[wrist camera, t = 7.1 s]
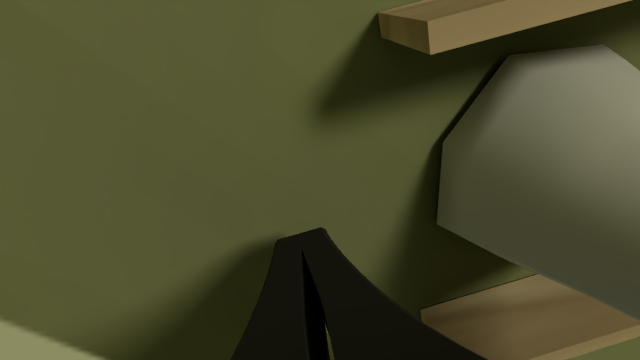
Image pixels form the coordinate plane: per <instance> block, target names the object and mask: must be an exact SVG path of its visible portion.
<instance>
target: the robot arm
mask: <svg viewBox="0 0 640 360" xmlns="http://www.w3.org/2000/svg"><path fill="white" fill-rule="evenodd" d="M325 324H326V327H327V330H328V333H329V336H330V339H331V344H332V349H333V354H334V358H335V360H488V359H486V358H484V357H482V356H480V355H478V354H476V353H475V352H473V351H471V350H469V349H467V348H465V347H463V346H461V345H460V344H458V343H456V342H455V341H453V340H451V339H450V338H448V337H446V336H445V335H443V334H441V333H440V332H438V331H436V330H435V329H433V328H431V327H430V326H428V325H426V324H425V323H423V322H422V321H420V320H419V319H417V318H416V317H415V316H413V315H412V314H410V313H409V312H407V311H406V310H405V309H403V308H402V307H401V306H399V305H398V304H397V303H395V302H394V301H393V300H391V299H390V298H389V297H388V296H386V295H385V294H384V293H383V292H382V291H380V290H379V289H378V288H377V287H376V286H375V285H373V284H372V283H371V282H370V281H369V280H368V279H367V278H366V277H365V276H364V275H363V274H362V273H360V272H359V270H358V269H357V268H356V267H355V266H354V265H353V264H352V263H351V262H350V261H349V260H348V259H347V258H346V257H345V256H344V255H343V254H342V252H341V251H340V250H339V249H338V247H337V246H336V245H335V244H334V242H333V241H332V240H331V238H330V237H329V235H328V233H327V231H326V230H325V229H323V228H321V227H320V228H317V229H313V230H310V231H306V232H303V233H299V234H296V235H293V236H289V237H286V238H282V239H279V240H277V242H276V244H275V248H274V252H273V257H272V260H271V264H270V267H269V271H268V274H267V277H266V280H265V283H264V286H263V289H262V291H261V294H260V297H259V300H258V302H257V304H256V307H255V309H254V312H253V314H252V316H251V319H250V321H249V323H248V326H247V328H246V330H245V332H244V334H243V336H242V338H241V340H240V342H239V344H238V346H237V348H236V350H235V352H234V354H233V356H232V358H231V359H230V360H330V357H329V350H328V343H327V335H326V328H325Z"/></svg>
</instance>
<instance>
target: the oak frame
mask: <svg viewBox="0 0 640 360" xmlns="http://www.w3.org/2000/svg"><path fill="white" fill-rule="evenodd" d="M627 1H631V0H423V1H419V2H416V3H412V4H408V5H404V6H400V7H397V8H393V9H389V10H385V11H382V12H378V17H379V24H380V31H381V37H382V38H385V39H387V40H390V41H393V42H396V43H399V44H401V45H404V46H407V47H410V48H412V49H415V50H418V51H421V52H423V53H426V54H429V55H432V54H436V53H440V52H443V51H447V50H451V49H454V48H458V47H462V46H465V45H469V44H473V43H476V42H480V41H484V40H487V39H491V38H495V37H498V36H502V35H506V34H510V33H513V32H517V31H521V30H524V29H528V28H532V27H535V26H539V25H543V24H546V23H550V22H554V21H557V20H561V19H565V18H568V17H572V16H576V15H579V14H583V13H587V12H591V11H594V10H598V9H602V8H605V7H609V6H613V5H616V4H620V3H624V2H627ZM420 313H421V320H422V322H423V323H425V324H426V325H428V326H430V327H431V328H433V329H435V330H436V331H438V332H440V333H441V334H443V335H445V336H446V337H448V338H450V339H451V340H453V341H455V342H456V343H458V344H460V345H461V346H463V347H465V348H467V349H469V350H471V351H473V352H475V353H476V354H478V355H480V356H482V357H484V358H486V359H488V360H566V359H569V358H572V357H576V356H579V355H582V354H585V353H588V352H591V351H595V350H598V349H601V348H604V347H607V346H611V345H614V344H617V343H620V342H623V341H626V340H630V339H633V338H636V337H639V336H640V321H638V320H636V319H634V318H632V317H630V316H628V315H626V314H624V313H622V312H620V311H618V310H616V309H613V308H611V307H609V306H607V305H605V304H603V303H601V302H599V301H597V300H595V299H593V298H590V297H588V296H586V295H584V294H582V293H580V292H577V291H575V290H573V289H571V288H568V287H566V286H564V285H562V284H559V283H557V282H555V281H552V280H550V279H548V278H546V277H543V276H541V275H539V274H537V275H533V276H530V277H527V278H524V279H520V280H517V281H514V282H510V283H507V284H504V285H500V286H497V287H494V288H490V289H487V290H484V291H481V292H477V293H474V294H471V295H467V296H464V297H461V298H457V299H454V300H451V301H447V302H444V303H441V304H438V305H434V306H431V307H428V308H424V309H421V310H420Z"/></svg>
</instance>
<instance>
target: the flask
mask: <svg viewBox="0 0 640 360" xmlns="http://www.w3.org/2000/svg"><path fill="white" fill-rule="evenodd" d="M437 225H439V226H441V227H443V228H445V229H447V230H449V231H451V232H453V233H455V234H457V235H459V236H460V237H462V238H464V239H466V240H468V241H470V242H472V243H474V244H476V245H478V246H480V247H482V248H483V249H485V250H487V251H489V252H491V253H493V254H495V255H497V256H499V257H501V258H503V259H505V260H507V261H510V262H512V263H514V264H516V265H518V266H520V267H523V268H525V269H527V270H530V271H532V272H534V273H536V274H539V275H541V276H543V277H546V278H548V279H550V280H552V281H555V282H557V283H559V284H562V285H564V286H566V287H568V288H571V289H573V290H575V291H577V292H580V293H582V294H584V295H586V296H588V297H590V298H593V299H595V300H597V301H599V302H601V303H603V304H605V305H607V306H609V307H611V308H613V309H616V310H618V311H620V312H622V313H624V314H626V315H628V316H630V317H632V318H634V319H636V320H638V321H640V71H639V70H638V69H637V68H635V67H634V66H633V65H631V64H630V63H629V62H628V61H626V60H625V59H623V58H622V57H621V56H619V55H618V54H616V53H615V52H614V51H612V50H611V49H609V48H608V47H607V46H605V45H604V44H601V45H592V46H583V47H575V48H566V49H557V50H548V51H539V52H531V53H522V54H513V55H509V56H508V57H507V58H506V60H505V61H504V62H503V64H502V65H501V66H500V68H499V69H498V70H497V71H496V73H495V74H494V75H493V77H492V78H491V79H490V81H489V82H488V83H487V85H486V86H485V87H484V89H483V90H482V91H481V93H480V94H479V95H478V97H477V98H476V99H475V101H474V102H473V103H472V105H471V106H470V107H469V109H468V110H467V111H466V112H465V114H464V115H463V116H462V118H461V119H460V120H459V122H458V123H457V124H456V126H455V127H454V128H453V130H452V131H451V132H450V134H449V135H448V136H447V138H446V139H445V140H444V142H443V149H442V162H441V175H440V188H439V201H438V213H437Z"/></svg>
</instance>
